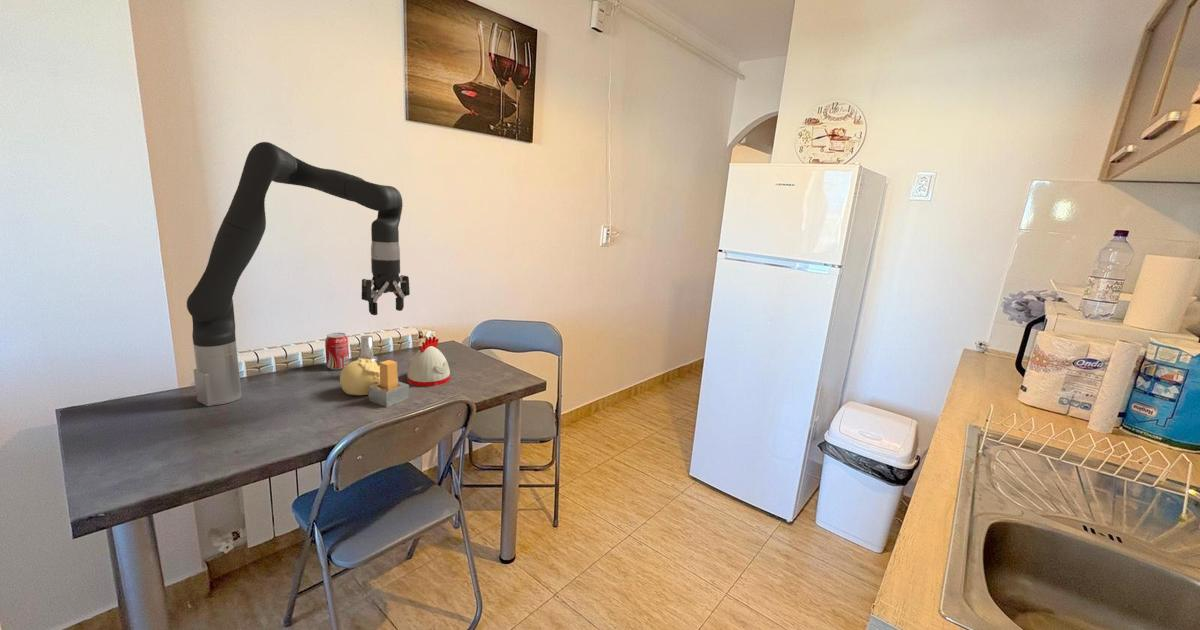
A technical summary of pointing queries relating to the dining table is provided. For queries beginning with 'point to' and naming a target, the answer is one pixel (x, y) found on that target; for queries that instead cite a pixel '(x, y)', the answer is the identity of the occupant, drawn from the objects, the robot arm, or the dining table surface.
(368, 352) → the ringlock post
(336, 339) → the soda can
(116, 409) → the dining table surface
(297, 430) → the dining table surface
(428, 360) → the kitchen timer
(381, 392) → the grey open-top box
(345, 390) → the sculpture
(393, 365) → the orange rectangular block
